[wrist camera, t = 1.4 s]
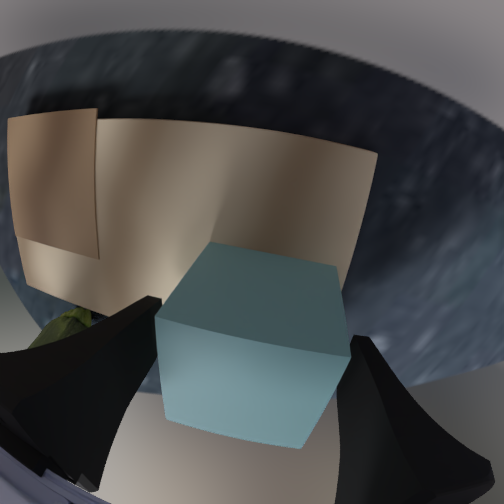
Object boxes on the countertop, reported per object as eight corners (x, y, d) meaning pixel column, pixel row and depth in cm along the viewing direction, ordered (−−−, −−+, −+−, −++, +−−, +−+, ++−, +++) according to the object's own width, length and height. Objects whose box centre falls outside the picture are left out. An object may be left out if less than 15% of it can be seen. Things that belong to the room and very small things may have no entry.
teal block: (336, 266, 11) (351, 357, 7) (306, 358, 13) (300, 448, 9) (209, 241, 12) (154, 316, 7) (203, 336, 14) (165, 418, 9)
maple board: (372, 138, 10) (381, 140, 9) (313, 350, 15) (313, 368, 13) (24, 115, 12) (7, 118, 11) (38, 276, 16) (26, 285, 15)
